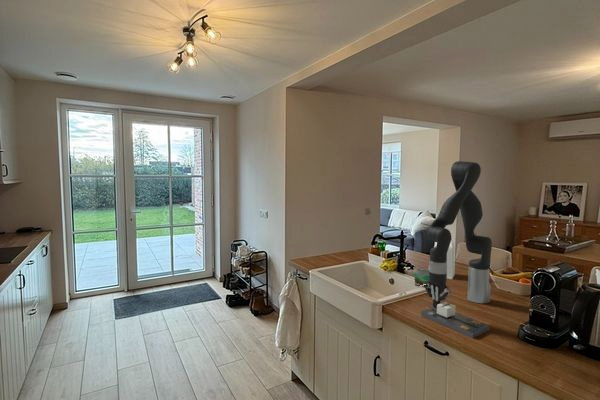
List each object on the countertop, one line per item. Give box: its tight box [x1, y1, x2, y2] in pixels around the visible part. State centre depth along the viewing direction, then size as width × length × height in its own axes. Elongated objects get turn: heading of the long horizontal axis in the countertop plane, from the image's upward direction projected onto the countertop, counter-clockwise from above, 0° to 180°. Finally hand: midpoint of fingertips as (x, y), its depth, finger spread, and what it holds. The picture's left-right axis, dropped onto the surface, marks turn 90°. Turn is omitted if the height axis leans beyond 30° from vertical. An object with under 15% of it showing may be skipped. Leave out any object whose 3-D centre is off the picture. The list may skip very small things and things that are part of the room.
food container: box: [413, 265, 429, 287], centre depth 185 cm, size 12×6×10 cm, turn 117°
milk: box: [433, 238, 456, 280], centre depth 204 cm, size 12×12×26 cm
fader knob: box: [437, 301, 456, 317], centre depth 142 cm, size 5×6×4 cm
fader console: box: [420, 306, 490, 339], centre depth 139 cm, size 24×12×2 cm, turn 32°
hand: (436, 307), depth 146 cm, fingers closed
